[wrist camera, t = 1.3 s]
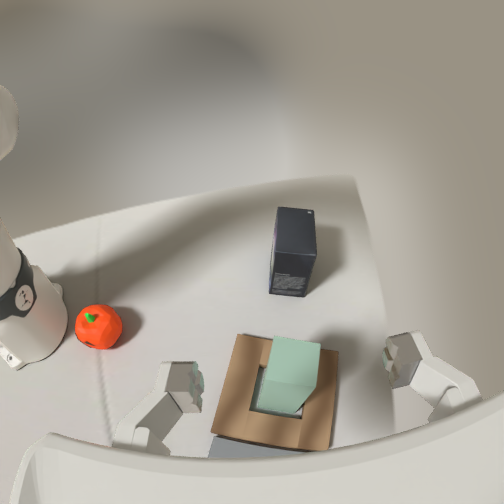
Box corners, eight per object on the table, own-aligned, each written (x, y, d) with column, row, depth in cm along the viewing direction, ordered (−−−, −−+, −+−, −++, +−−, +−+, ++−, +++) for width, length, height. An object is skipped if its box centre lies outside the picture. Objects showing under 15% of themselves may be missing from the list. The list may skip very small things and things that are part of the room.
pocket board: (211, 432, 32) (210, 431, 31) (237, 337, 42) (237, 333, 42) (325, 451, 30) (327, 450, 30) (336, 354, 41) (338, 351, 40)
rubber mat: (188, 528, 22) (187, 529, 22) (214, 437, 32) (213, 436, 31) (301, 546, 21) (302, 547, 20) (321, 454, 30) (322, 454, 30)
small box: (270, 249, 56) (276, 204, 48) (304, 252, 55) (315, 209, 48) (266, 294, 48) (273, 249, 41) (305, 298, 48) (319, 254, 40)
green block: (257, 407, 35) (265, 379, 26) (264, 374, 38) (274, 335, 30) (294, 413, 34) (315, 387, 26) (299, 380, 38) (320, 343, 29)
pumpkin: (126, 353, 40) (111, 339, 34) (81, 352, 39) (62, 337, 33) (128, 311, 44) (116, 292, 39) (86, 312, 43) (70, 293, 38)
